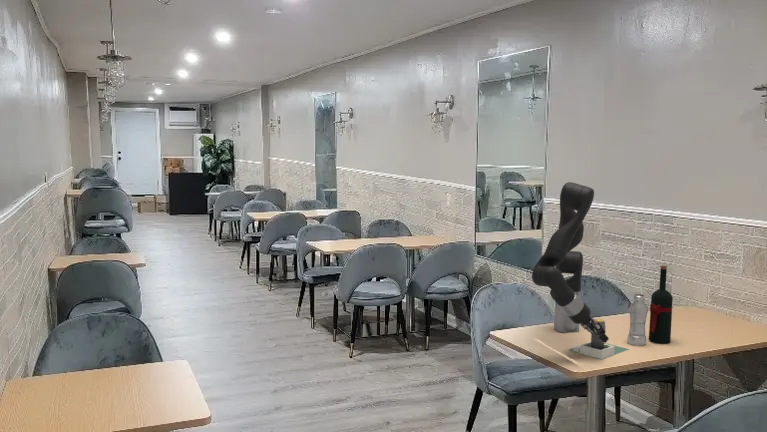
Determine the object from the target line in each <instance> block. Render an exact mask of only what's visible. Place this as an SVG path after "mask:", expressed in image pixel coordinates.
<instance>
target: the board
mask: <svg viewBox="0 0 767 432" xmlns="http://www.w3.org/2000/svg"><path fill="white" fill-rule="evenodd" d="M629 350H630V348H626V347H623V346H622V347H621V346H618V345H616V344H615V345H614V344H610V343H607V342H606V343H604V349H602V350H599V349H595V348H592V347H591V341H588V342H585V343H580V344H578V345H575V346H573V347H572V348H569V349H567V351H568V352H569V351H570V352H573V353H577V354H581V355H584V356H587V357H590V358H594V359H598V360H604V359H607V358H611V357H612V356H615V355H618V354H620V353H624V352H626V351H629Z"/></svg>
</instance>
